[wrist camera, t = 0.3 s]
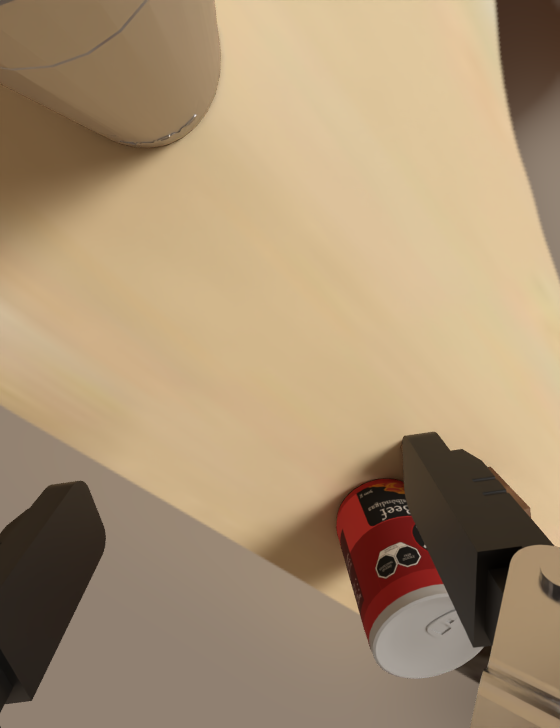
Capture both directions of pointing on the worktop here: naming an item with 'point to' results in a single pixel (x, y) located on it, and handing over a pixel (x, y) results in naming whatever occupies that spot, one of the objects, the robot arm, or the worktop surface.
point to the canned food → (398, 585)
